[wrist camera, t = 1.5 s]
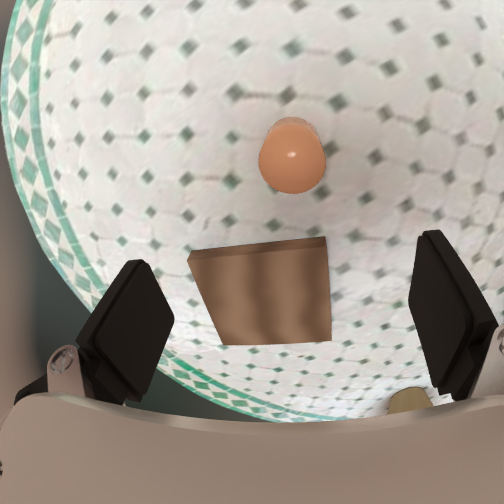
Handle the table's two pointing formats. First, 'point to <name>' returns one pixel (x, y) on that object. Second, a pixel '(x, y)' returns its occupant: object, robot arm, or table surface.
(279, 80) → the table surface
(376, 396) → the table surface
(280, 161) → the terracotta cylinder
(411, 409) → the plant pot
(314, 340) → the walnut board
